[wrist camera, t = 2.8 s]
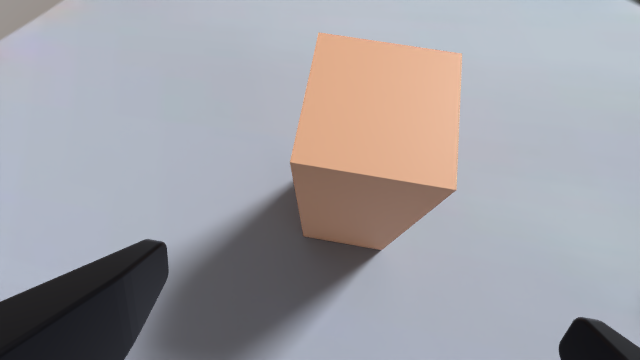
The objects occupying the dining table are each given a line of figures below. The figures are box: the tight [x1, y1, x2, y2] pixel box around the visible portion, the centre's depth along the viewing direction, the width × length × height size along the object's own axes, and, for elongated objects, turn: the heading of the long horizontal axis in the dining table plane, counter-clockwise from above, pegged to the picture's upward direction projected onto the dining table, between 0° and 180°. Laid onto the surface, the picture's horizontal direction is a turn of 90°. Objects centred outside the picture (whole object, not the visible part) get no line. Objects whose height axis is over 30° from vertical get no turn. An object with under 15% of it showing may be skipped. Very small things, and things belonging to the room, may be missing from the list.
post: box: [290, 33, 462, 250], centre depth 15 cm, size 4×4×11 cm
